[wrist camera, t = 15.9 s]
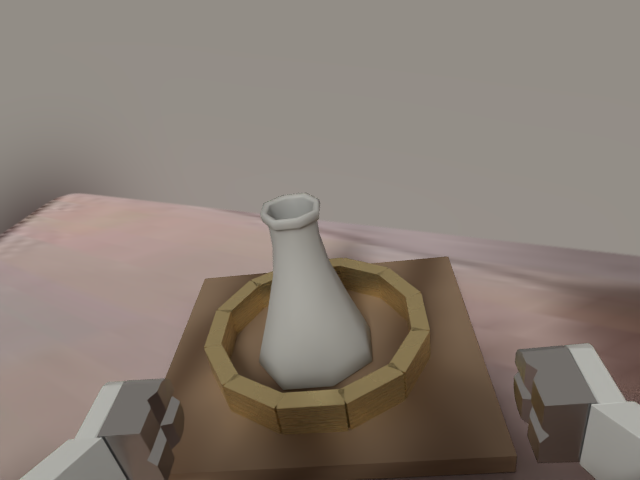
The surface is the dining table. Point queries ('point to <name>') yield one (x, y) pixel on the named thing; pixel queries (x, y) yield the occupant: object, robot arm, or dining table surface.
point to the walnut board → (374, 435)
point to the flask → (308, 304)
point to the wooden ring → (322, 405)
